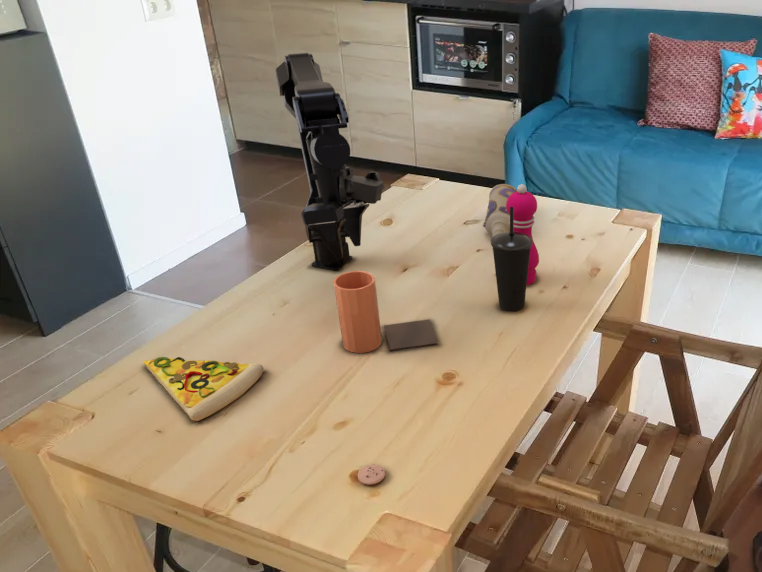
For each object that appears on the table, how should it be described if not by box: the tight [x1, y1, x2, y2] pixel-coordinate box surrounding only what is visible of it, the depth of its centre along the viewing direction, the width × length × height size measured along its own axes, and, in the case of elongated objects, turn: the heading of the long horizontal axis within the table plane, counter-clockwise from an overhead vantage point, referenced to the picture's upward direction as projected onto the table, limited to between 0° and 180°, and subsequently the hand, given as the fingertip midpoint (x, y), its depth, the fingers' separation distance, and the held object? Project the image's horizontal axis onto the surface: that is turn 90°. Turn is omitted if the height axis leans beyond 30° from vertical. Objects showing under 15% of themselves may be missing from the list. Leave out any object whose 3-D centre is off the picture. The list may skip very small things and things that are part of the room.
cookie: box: [357, 463, 386, 486], centre depth 105 cm, size 4×4×1 cm
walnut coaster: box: [383, 319, 438, 352], centre depth 136 cm, size 8×8×1 cm
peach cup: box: [333, 270, 383, 354], centre depth 130 cm, size 7×7×12 cm
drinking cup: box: [490, 207, 534, 313], centre depth 139 cm, size 8×8×20 cm
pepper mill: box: [506, 183, 540, 286], centre depth 148 cm, size 7×7×20 cm
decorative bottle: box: [482, 183, 517, 237], centre depth 170 cm, size 26×8×7 cm, turn 177°
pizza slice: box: [143, 356, 265, 422], centre depth 123 cm, size 16×21×3 cm
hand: (348, 252), depth 137 cm, fingers open, 9 cm apart
